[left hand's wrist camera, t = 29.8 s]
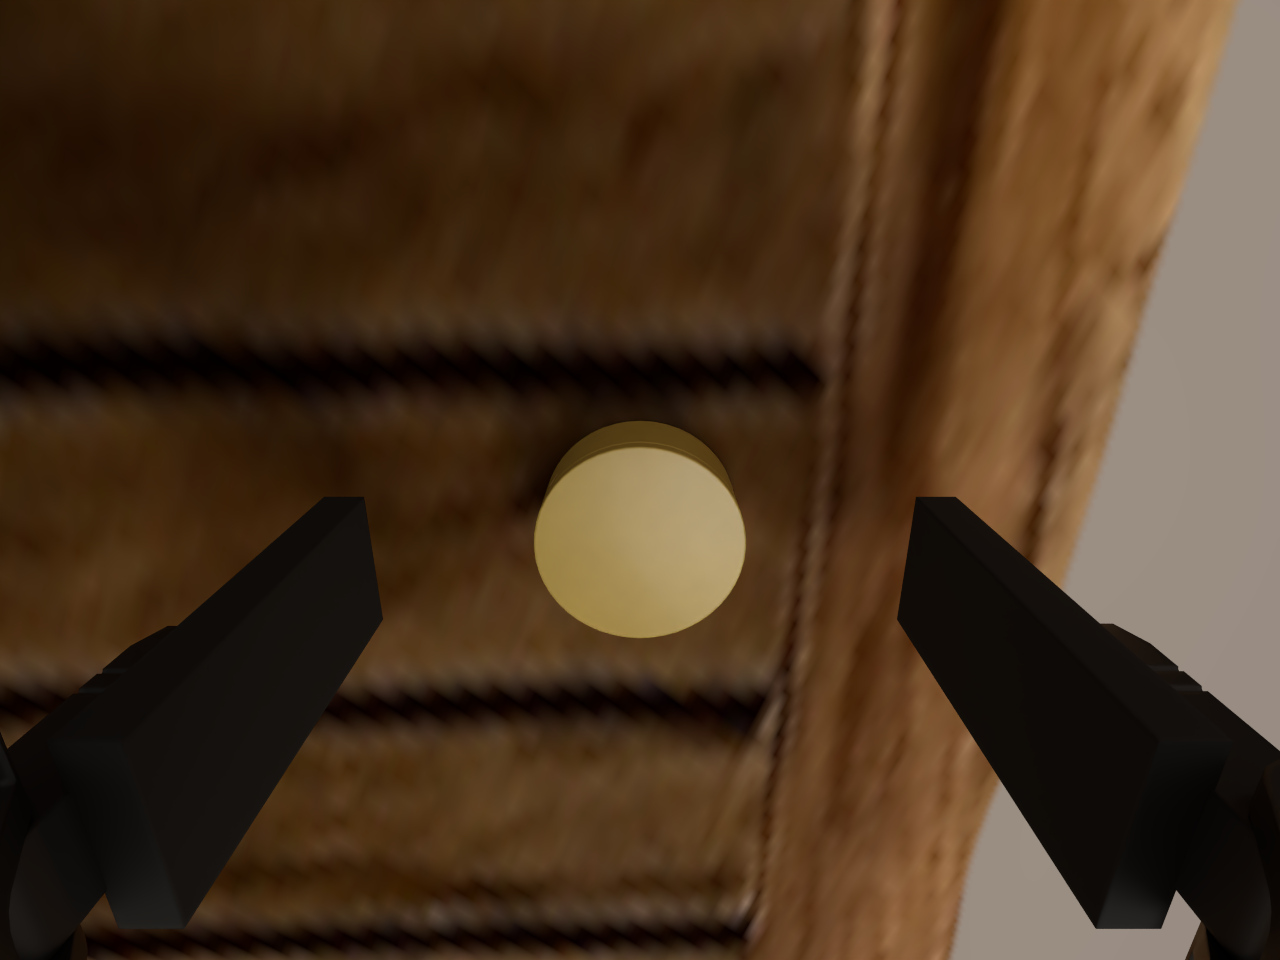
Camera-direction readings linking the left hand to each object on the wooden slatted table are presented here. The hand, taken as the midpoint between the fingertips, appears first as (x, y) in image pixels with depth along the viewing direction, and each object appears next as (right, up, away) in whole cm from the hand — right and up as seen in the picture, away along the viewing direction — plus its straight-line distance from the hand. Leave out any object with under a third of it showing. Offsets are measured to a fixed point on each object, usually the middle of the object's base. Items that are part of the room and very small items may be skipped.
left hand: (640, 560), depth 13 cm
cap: (0, 0, +1) cm, 1 cm away
